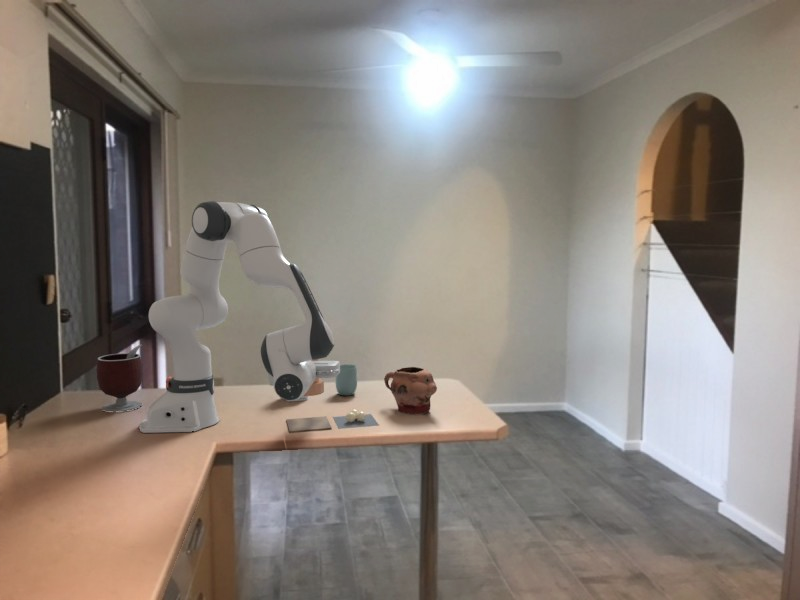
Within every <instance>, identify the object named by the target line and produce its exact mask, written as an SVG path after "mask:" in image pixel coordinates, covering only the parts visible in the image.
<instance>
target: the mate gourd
mask: <svg viewBox="0 0 800 600" xmlns="http://www.w3.org/2000/svg"><path fill="white" fill-rule="evenodd" d="M141 347H143V344H139V345H137V346H135V347H133V348H132V349H130V351H129V352H122V353H113V354H106V355H102V356H99V357H97V362H96V380H97V385H98V387H99V389H100V390H101V391H102V392H103V393H104V395H107V396H110V397H114V398H116V400H115V402H112V403H107V404H105V406H104V405H102V406H101V409H102V410H105V411H113V412H116V411H127V410H132V409H135V408H138V407H140V406H141V405H142V406H143V403H142V402H140V401H137V400H136V401H135V400H128V399H127V397H128V396H129V395H132V394H133V393H134V394H135V393H136V392H138V390H139V389H140V387H141V386H142V382H143V375H144V367H143V362H142V361H143V360H142V357H141V354H140V353H137V352H138V350H139V349H140V348H141ZM102 410H101V411H102Z"/></svg>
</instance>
